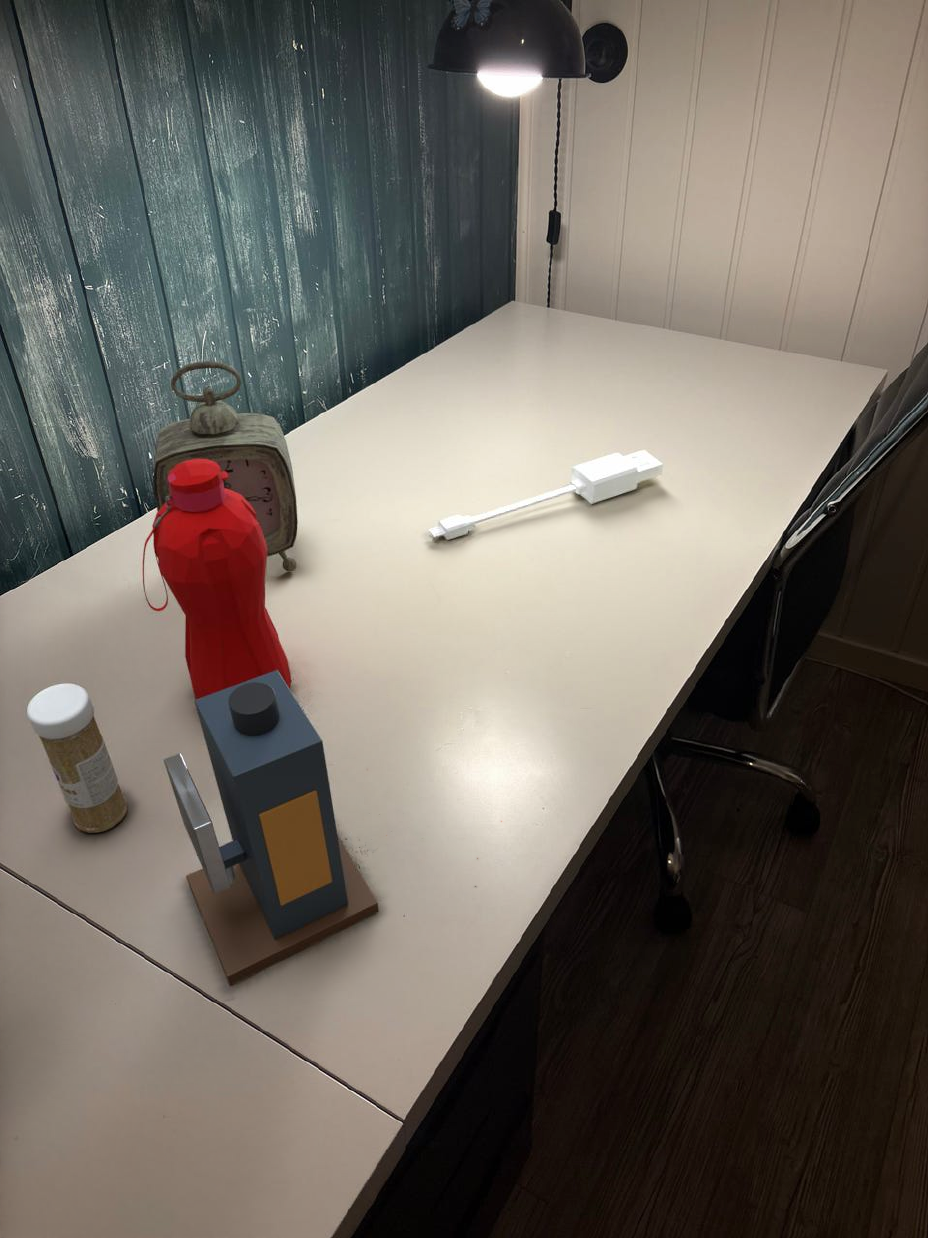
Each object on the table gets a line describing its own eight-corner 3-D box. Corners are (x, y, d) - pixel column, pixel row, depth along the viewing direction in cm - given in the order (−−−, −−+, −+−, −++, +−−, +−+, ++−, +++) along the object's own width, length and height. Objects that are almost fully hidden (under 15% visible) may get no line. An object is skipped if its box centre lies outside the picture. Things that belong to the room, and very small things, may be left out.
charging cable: (423, 535, 114) (421, 512, 111) (640, 465, 124) (642, 442, 122) (441, 555, 110) (439, 532, 108) (663, 481, 120) (665, 459, 118)
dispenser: (230, 985, 66) (166, 792, 53) (188, 884, 73) (123, 690, 60) (379, 911, 71) (354, 716, 58) (327, 823, 78) (295, 630, 64)
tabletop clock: (179, 595, 103) (124, 386, 88) (181, 550, 110) (131, 350, 95) (308, 577, 105) (277, 371, 90) (302, 535, 112) (272, 337, 97)
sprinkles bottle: (63, 817, 79) (13, 704, 70) (109, 785, 81) (66, 673, 73) (94, 844, 76) (46, 731, 68) (140, 810, 79) (99, 697, 71)
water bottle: (171, 679, 92) (107, 458, 77) (279, 651, 95) (238, 433, 80) (185, 741, 86) (118, 512, 70) (300, 709, 89) (260, 483, 73)
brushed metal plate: (214, 895, 62) (193, 830, 58) (184, 824, 67) (163, 759, 63) (231, 887, 63) (212, 822, 58) (199, 818, 68) (180, 752, 63)
